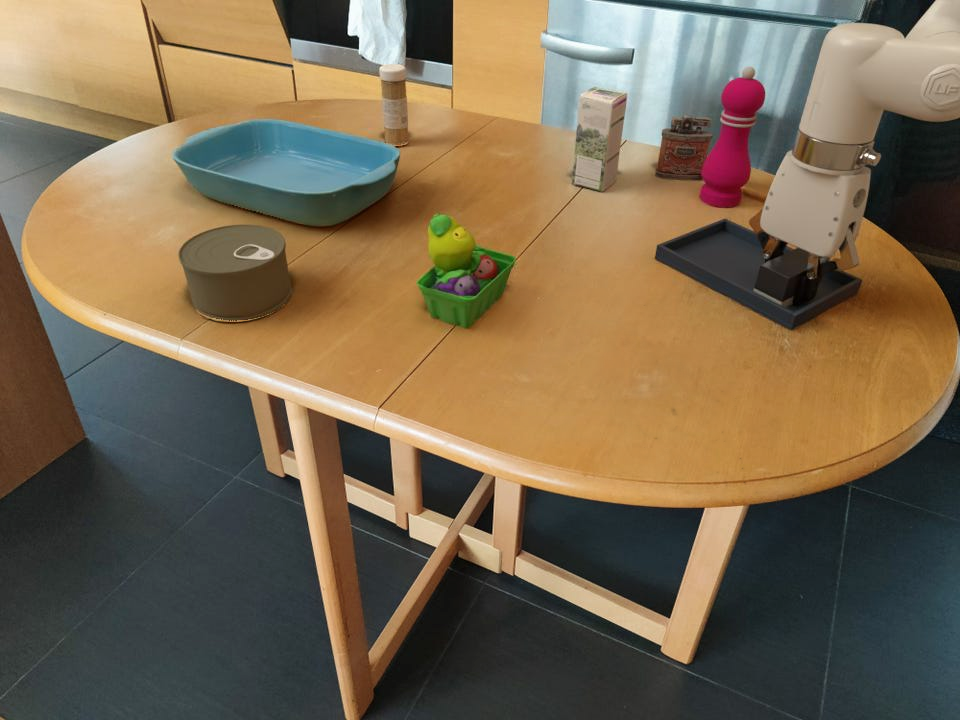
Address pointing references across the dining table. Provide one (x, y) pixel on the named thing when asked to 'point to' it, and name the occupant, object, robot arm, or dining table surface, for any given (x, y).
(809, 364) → the dining table surface
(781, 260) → the eraser
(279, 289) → the can
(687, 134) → the lighter
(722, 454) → the dining table surface
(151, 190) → the dining table surface
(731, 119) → the pepper mill
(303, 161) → the casserole dish
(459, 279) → the fruit basket
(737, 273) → the tray
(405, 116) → the sprinkles bottle
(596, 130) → the syrup box
